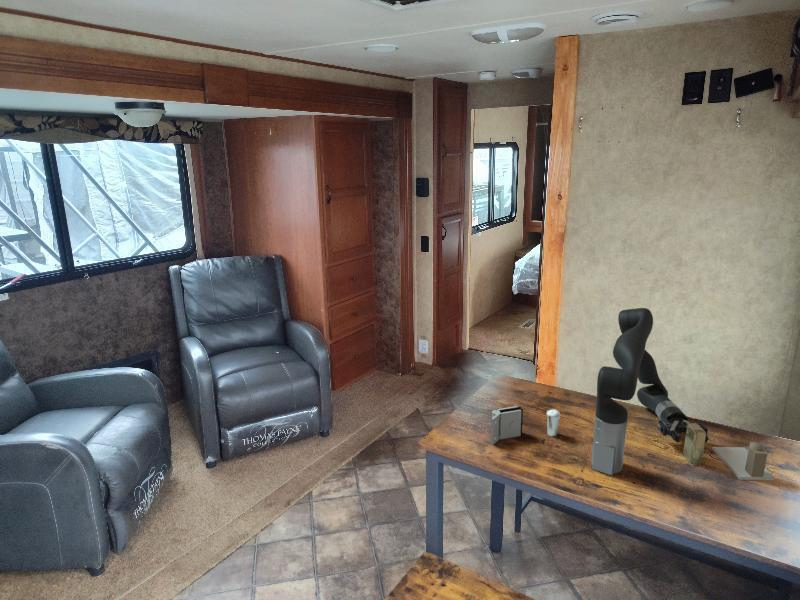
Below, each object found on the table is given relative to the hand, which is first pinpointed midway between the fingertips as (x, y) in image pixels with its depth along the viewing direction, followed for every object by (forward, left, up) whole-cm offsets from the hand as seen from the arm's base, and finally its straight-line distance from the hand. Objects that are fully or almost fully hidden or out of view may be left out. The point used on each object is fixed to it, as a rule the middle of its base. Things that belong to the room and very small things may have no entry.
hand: (692, 440), depth 171 cm
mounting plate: (+5, -14, -6) cm, 16 cm away
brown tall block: (-1, -1, -6) cm, 6 cm away
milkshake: (-13, +42, -6) cm, 44 cm away
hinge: (-25, +54, -6) cm, 60 cm away
